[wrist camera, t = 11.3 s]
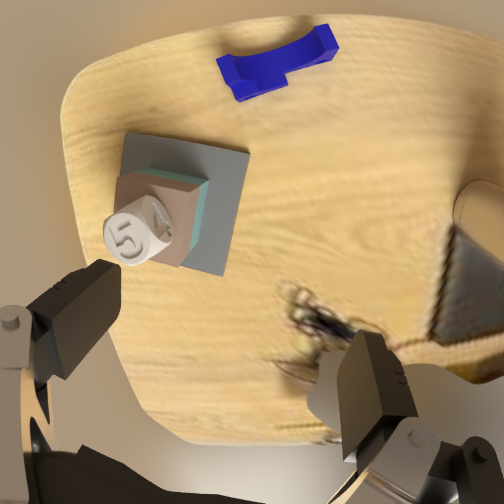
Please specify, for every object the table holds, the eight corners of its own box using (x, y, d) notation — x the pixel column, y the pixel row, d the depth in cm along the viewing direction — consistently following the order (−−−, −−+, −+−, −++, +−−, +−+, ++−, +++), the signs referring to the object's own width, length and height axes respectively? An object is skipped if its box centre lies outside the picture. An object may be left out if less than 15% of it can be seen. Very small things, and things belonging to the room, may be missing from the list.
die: (156, 189, 29) (133, 201, 24) (180, 233, 30) (162, 252, 26) (119, 212, 30) (94, 226, 26) (142, 253, 32) (121, 273, 27)
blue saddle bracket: (239, 102, 33) (231, 97, 28) (226, 70, 32) (215, 59, 26) (335, 71, 31) (345, 60, 25) (321, 39, 29) (327, 23, 24)
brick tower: (250, 153, 35) (239, 160, 27) (224, 273, 42) (208, 309, 33) (129, 131, 36) (90, 134, 27) (117, 244, 42) (83, 270, 33)
